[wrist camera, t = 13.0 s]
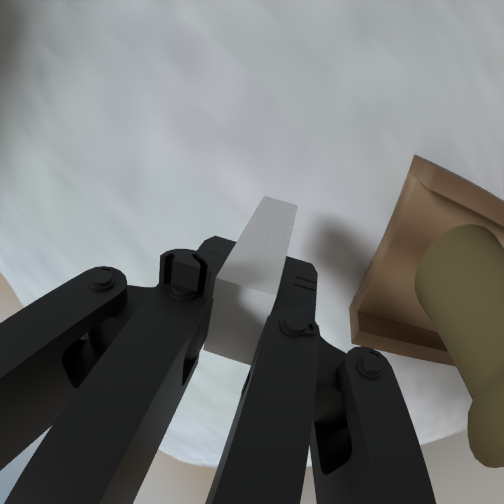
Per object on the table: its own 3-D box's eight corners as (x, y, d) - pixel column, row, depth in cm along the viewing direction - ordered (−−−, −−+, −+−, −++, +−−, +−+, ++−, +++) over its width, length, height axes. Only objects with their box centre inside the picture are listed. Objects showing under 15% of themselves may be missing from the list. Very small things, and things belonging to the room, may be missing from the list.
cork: (516, 261, 12) (605, 401, 3) (453, 329, 15) (496, 485, 6) (463, 201, 12) (601, 361, 2) (393, 286, 15) (431, 485, 5)
